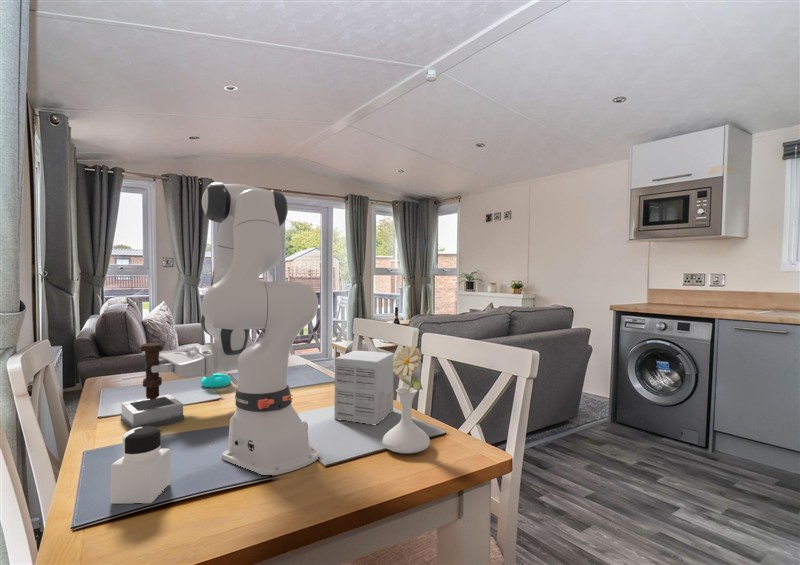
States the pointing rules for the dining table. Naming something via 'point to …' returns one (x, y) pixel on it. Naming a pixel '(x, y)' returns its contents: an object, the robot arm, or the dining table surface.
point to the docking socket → (152, 412)
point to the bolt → (151, 378)
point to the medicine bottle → (140, 468)
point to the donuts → (216, 381)
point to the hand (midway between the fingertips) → (148, 367)
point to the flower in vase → (407, 406)
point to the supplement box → (364, 386)
